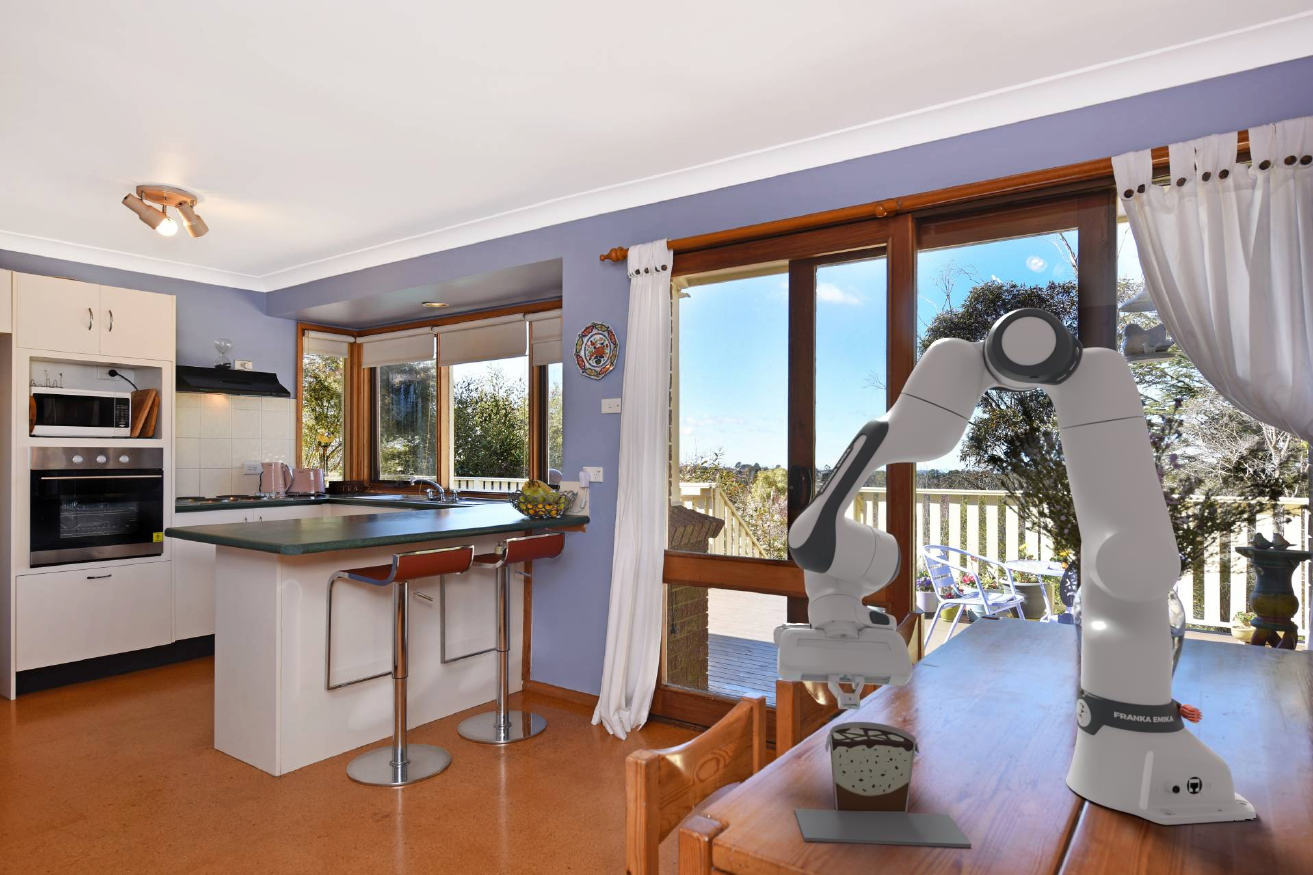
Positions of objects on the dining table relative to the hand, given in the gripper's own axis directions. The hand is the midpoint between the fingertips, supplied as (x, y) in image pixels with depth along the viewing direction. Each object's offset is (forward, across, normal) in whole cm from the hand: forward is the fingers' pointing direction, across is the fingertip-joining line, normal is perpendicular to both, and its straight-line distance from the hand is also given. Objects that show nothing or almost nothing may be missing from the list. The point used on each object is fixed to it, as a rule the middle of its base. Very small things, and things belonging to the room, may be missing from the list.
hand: (849, 707), depth 113 cm
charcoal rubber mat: (+18, 0, -5) cm, 19 cm away
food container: (+13, 0, +1) cm, 13 cm away
